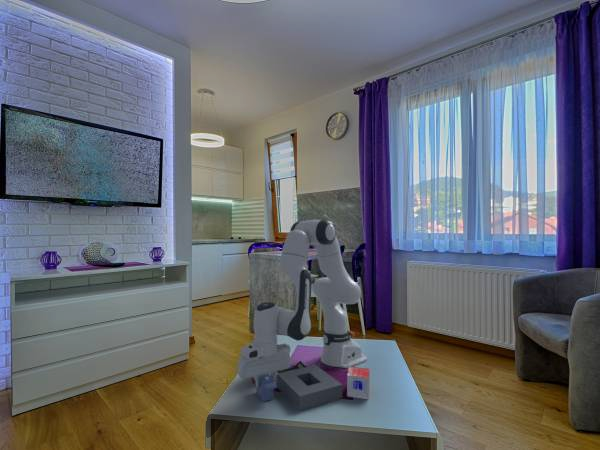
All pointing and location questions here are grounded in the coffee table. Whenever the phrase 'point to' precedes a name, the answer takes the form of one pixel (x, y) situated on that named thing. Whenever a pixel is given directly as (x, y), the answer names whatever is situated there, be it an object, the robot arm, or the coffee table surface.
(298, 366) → the calculator
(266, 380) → the block
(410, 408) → the coffee table surface
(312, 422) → the coffee table surface
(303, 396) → the plate
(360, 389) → the white red cube carton
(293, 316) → the robot arm
